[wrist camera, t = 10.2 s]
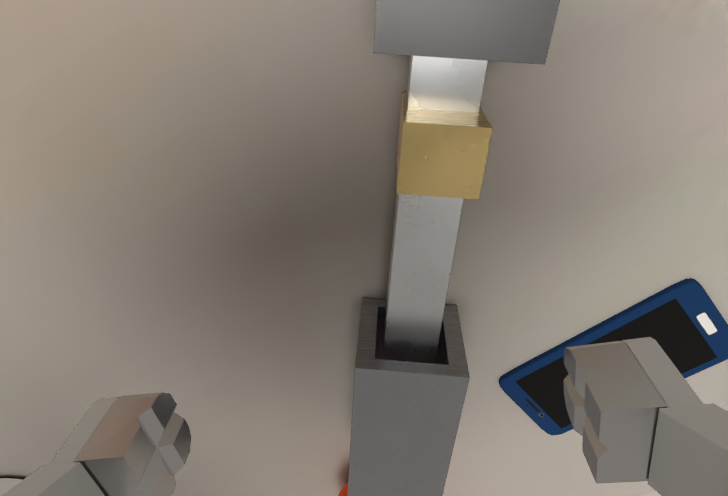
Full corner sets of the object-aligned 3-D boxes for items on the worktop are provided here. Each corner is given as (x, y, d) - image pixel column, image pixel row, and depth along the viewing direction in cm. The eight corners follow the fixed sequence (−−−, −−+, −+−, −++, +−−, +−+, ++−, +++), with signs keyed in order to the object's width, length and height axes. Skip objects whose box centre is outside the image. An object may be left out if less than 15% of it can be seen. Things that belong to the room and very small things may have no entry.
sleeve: (432, 430, 36) (438, 510, 31) (354, 423, 36) (347, 501, 31) (456, 305, 30) (469, 377, 25) (362, 297, 30) (355, 368, 25)
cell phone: (738, 343, 31) (746, 351, 30) (548, 431, 36) (551, 439, 35) (690, 269, 28) (696, 277, 27) (492, 375, 33) (494, 383, 33)
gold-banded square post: (433, 336, 30) (439, 401, 26) (380, 331, 30) (377, 395, 26) (489, 2, 21) (515, 11, 16) (411, -3, 21) (414, 4, 16)
